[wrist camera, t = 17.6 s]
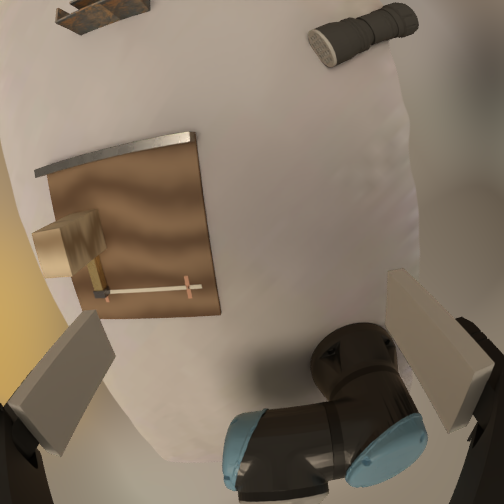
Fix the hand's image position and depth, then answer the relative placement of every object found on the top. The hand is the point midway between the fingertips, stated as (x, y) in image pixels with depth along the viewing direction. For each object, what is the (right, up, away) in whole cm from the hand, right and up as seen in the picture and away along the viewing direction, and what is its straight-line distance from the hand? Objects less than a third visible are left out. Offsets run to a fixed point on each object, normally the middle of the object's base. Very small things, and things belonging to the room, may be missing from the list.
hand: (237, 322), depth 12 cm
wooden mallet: (-23, +3, +29) cm, 37 cm away
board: (-17, +5, +29) cm, 34 cm away
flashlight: (+15, +32, +19) cm, 40 cm away
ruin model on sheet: (-19, +37, +17) cm, 45 cm away
